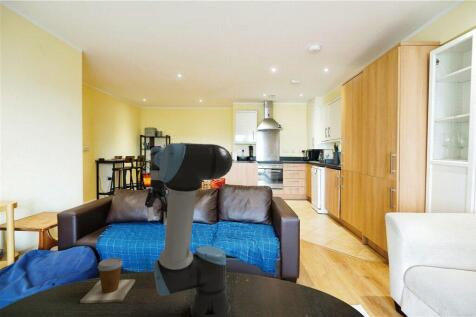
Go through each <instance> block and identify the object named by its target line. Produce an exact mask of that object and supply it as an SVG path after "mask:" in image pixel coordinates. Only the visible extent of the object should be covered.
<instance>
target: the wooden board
mask: <svg viewBox="0 0 476 317" xmlns="http://www.w3.org/2000/svg"><path fill="white" fill-rule="evenodd" d="M135 283H136V279H135V278H133V279H132V278H131V279H119V286H118V289H117V290H116V291H114V292H111V293H103V292H102V288H101V281H100V280H98V281H97V283H96V284H95V285H94V286H93V287H92V288H91V289H90V290H89V291H88V292H87V293H86V294H85V295H84V296H83V297H82V298H81V299H80V301H79V304H98V303H99V304H101V303H121V302H123V300H124V299H125V298H126V296H127V294H128V293H129V292H130V290H131V289H132V287H133V285H134V284H135Z"/></svg>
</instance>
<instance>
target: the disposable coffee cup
mask: <svg viewBox="0 0 476 317" xmlns="http://www.w3.org/2000/svg"><path fill="white" fill-rule="evenodd" d="M123 263H124V262H123V260H122V259H121V258H120V257H108V258H105V259H103V260H100V262H98V266H97V269H98V272H99V279H100V280H99V281H101V288H102V292H103V293H111V292H114V291H116V290H117V289H118V286H119V280H121V279H120V278H121V277H120V276H121V270H122V266H123Z"/></svg>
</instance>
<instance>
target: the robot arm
mask: <svg viewBox="0 0 476 317" xmlns="http://www.w3.org/2000/svg"><path fill="white" fill-rule="evenodd" d="M149 157H150V172H149V174H150V175H149V179H150V181H149V183H150V184H149V186H150V187H148V192H147V196H146V198H145V201H144V206H145V207H146V208H147V212H146V213H147V222H150V221H154V203H155V202H156V201H157V199H158V200H159V201H160V203H161V205H162V206H163V209H164V211H163V226H165V234H164V235H165V236H164V248H163V250H162V251H161V252H160V254H159V256H158V259H156V260H154V261H153V263H152V264H153V265H152V266H153V268H152V269H153V275H154V281H155V287H156V291H157V294H158V295H159V296H161V297H162V296H164V297H165V296H171V295H174V294H177V293H182V292H186V291H190V290H192V289H195V290H194V293H193V296H192V300H191V303H190V311H189V312H190V315H191V316H192V317H227V316H228V315H229V314H230V312H231V300H230V298H229V295H228V291H227V285H226V284H227V255H226V252H225V251H224V250H223V249H221V248H220V247H216V246H213V245H212V246H210V245H202V246H199V247H197V248H196V249H195V251H194V253H193V251H191V249H190V248H191V241H192V231H193V224H194V215H195V214H194V212H195V204H196V198H197V197H196V196H197V192H198V191H199V190H201V188H202V186H203V185H202V184H203V181H211V180H212V181H213V180H218V179H220V178H223V177H225V176H226V175H227V174H228V173H229V172H230V170H232V167H233V158H232V157H233V156H232V154H231V153H230V151H229V150H228V149H226V148H225V147H224V146H222V145H218V144H214V143H191V142H179V143H178V142H176V143H175V142H174V143H173V142H172V143H169V144H166V145H165V146H164V147H152V148H151V149H150V154H149ZM165 188H166V189H165Z"/></svg>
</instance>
